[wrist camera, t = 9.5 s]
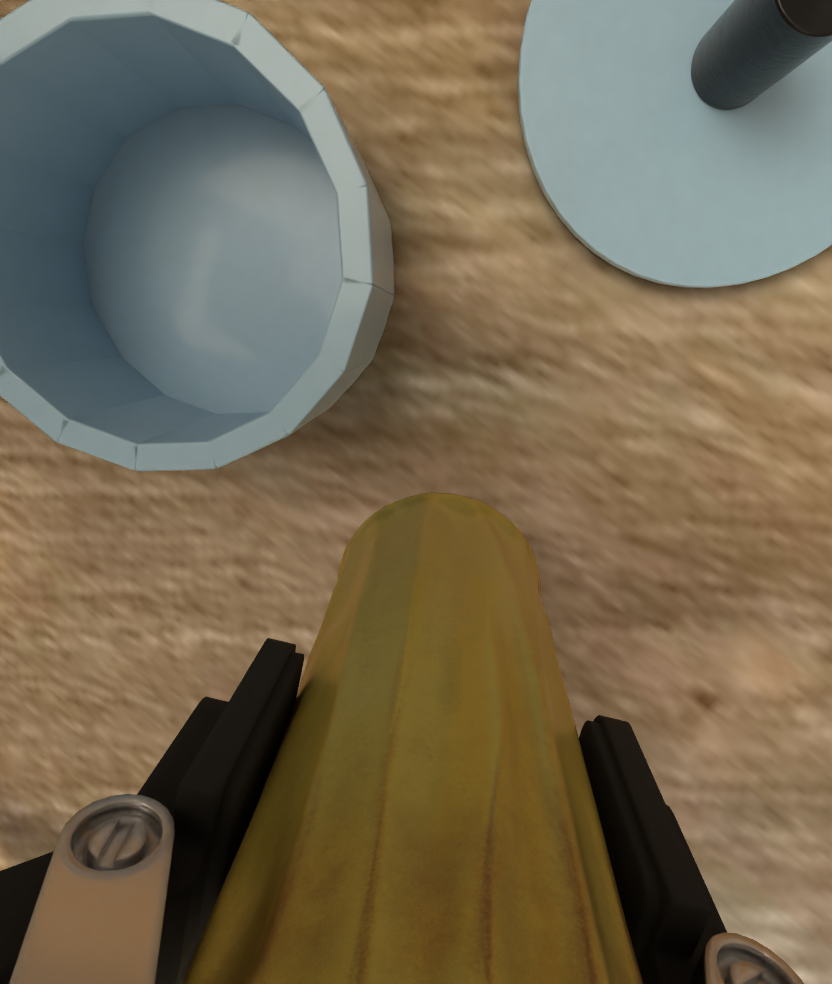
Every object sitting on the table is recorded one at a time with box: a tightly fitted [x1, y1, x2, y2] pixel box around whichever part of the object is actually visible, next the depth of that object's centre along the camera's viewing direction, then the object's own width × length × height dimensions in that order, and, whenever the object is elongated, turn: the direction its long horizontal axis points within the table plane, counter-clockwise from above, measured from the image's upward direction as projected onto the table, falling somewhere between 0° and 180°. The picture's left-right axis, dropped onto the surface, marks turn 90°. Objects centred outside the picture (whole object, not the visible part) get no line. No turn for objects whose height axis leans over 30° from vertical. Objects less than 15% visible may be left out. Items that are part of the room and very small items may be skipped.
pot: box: [0, 0, 394, 471], centre depth 19 cm, size 12×12×6 cm
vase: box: [182, 493, 643, 984], centre depth 12 cm, size 6×6×14 cm
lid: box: [517, 0, 832, 288], centre depth 17 cm, size 13×13×6 cm
